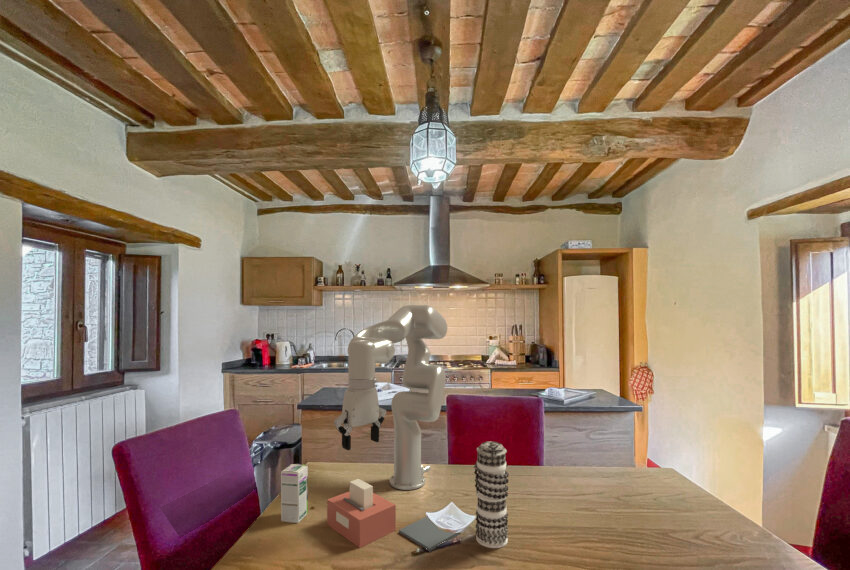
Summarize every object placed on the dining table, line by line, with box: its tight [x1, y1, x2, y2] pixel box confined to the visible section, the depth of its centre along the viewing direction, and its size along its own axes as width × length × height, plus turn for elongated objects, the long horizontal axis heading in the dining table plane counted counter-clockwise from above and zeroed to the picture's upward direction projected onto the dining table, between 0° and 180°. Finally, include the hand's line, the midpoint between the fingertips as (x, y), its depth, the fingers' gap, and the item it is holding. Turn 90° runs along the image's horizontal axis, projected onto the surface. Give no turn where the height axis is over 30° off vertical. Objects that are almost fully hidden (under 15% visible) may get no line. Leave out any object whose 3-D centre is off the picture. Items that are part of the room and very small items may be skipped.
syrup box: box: [280, 463, 309, 524], centre depth 123 cm, size 6×6×14 cm
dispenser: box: [326, 490, 397, 549], centre depth 118 cm, size 12×16×7 cm
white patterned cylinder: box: [473, 440, 509, 549], centre depth 113 cm, size 9×9×25 cm
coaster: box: [398, 515, 460, 552], centre depth 115 cm, size 12×12×1 cm
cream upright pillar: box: [349, 478, 374, 509], centre depth 118 cm, size 3×7×9 cm, turn 44°
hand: (361, 444), depth 119 cm, fingers open, 9 cm apart
